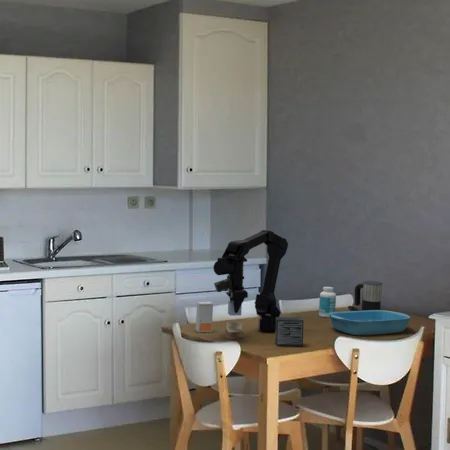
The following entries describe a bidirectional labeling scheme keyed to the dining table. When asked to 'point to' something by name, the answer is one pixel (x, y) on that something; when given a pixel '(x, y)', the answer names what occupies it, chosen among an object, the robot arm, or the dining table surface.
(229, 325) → the tower mid
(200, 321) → the skincare box
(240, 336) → the tower base
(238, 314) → the blue cube
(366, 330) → the casserole dish
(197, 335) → the dining table surface
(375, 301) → the milk frother
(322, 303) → the pill bottle
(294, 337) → the small box
